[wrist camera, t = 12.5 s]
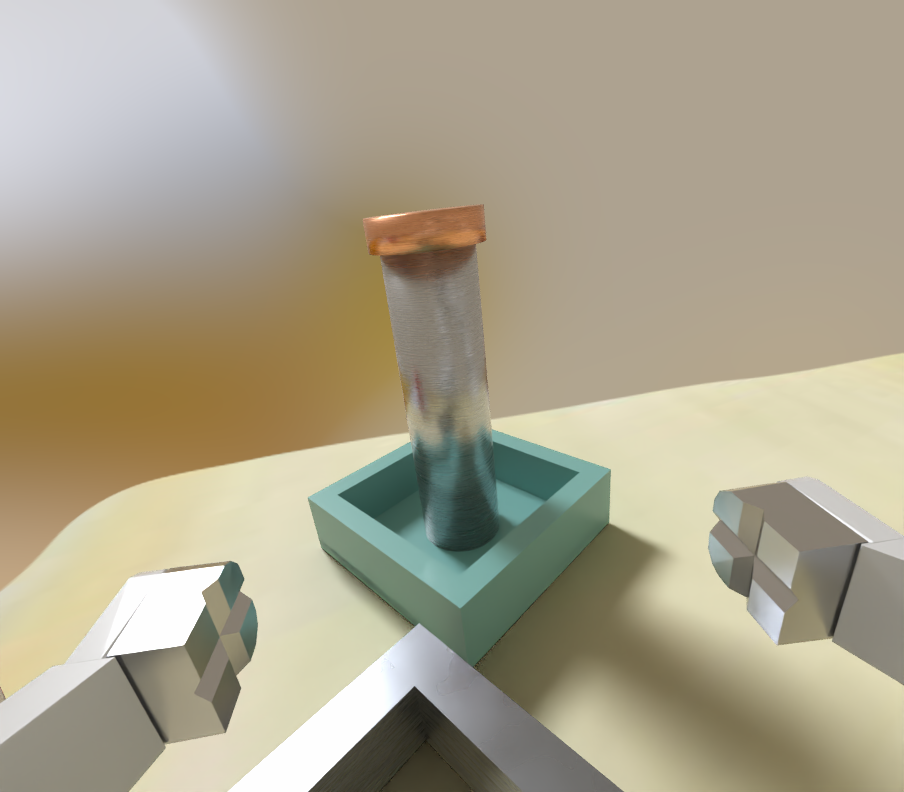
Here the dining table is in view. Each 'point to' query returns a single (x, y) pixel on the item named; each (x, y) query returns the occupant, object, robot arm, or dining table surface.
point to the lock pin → (442, 365)
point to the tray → (475, 571)
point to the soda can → (1, 696)
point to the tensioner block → (423, 732)
